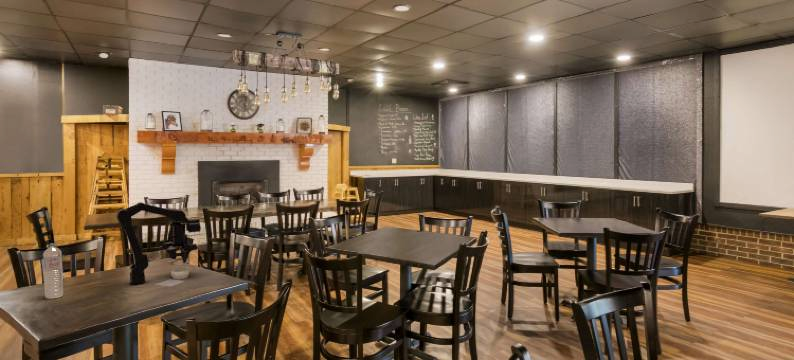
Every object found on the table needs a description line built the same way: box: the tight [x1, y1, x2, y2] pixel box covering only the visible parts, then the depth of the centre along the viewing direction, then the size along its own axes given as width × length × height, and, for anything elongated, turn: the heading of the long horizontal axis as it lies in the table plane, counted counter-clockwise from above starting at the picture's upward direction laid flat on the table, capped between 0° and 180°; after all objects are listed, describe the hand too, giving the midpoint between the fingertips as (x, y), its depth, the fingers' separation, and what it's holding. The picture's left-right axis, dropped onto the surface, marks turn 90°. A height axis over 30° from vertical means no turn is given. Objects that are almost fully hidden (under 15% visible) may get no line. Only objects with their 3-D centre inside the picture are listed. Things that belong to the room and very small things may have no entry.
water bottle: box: [42, 242, 64, 300], centre depth 209 cm, size 7×7×25 cm
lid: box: [168, 256, 191, 266], centre depth 241 cm, size 6×8×2 cm
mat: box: [154, 278, 185, 287], centre depth 231 cm, size 10×10×1 cm
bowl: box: [170, 267, 190, 280], centre depth 242 cm, size 8×8×5 cm
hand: (179, 262), depth 241 cm, fingers closed on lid, 6 cm apart
